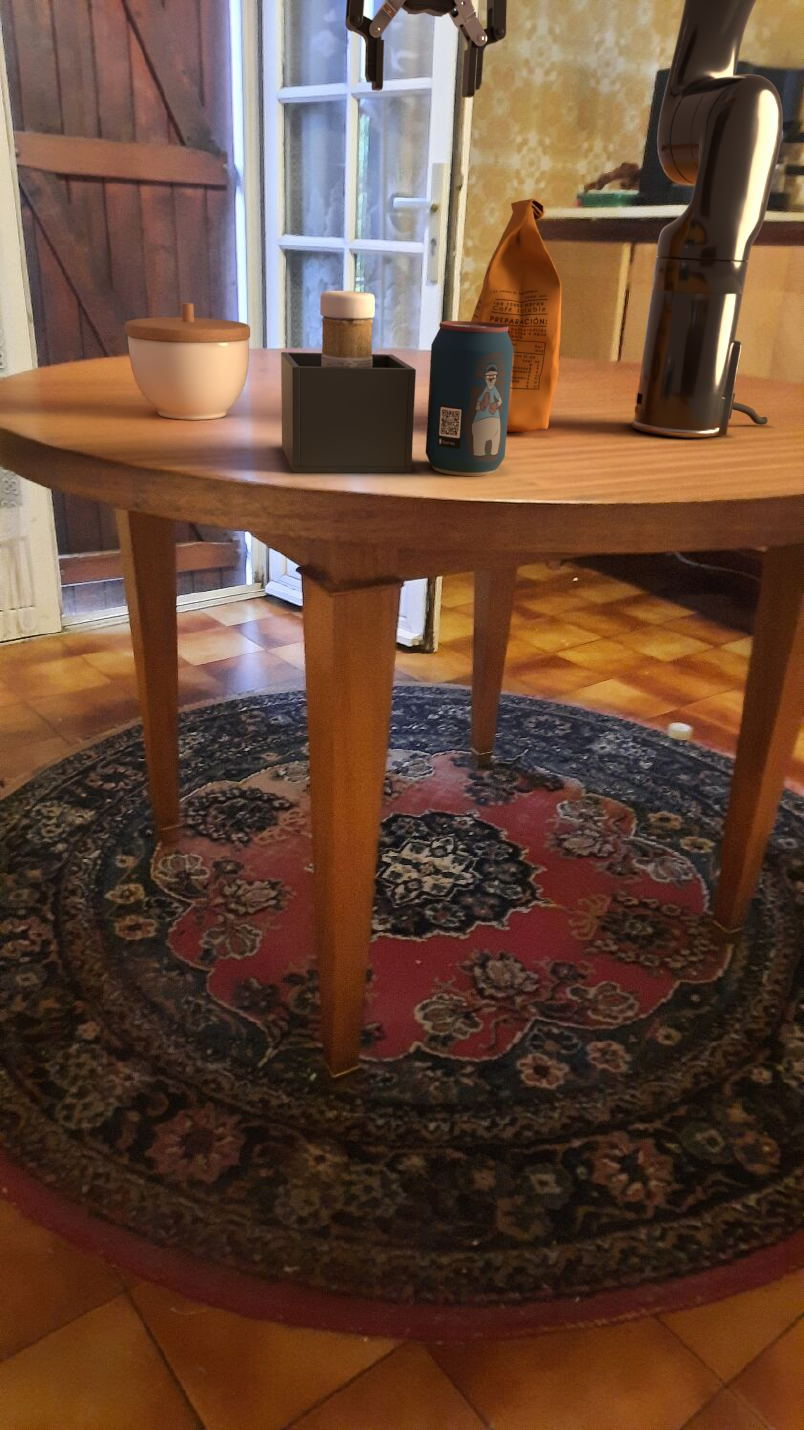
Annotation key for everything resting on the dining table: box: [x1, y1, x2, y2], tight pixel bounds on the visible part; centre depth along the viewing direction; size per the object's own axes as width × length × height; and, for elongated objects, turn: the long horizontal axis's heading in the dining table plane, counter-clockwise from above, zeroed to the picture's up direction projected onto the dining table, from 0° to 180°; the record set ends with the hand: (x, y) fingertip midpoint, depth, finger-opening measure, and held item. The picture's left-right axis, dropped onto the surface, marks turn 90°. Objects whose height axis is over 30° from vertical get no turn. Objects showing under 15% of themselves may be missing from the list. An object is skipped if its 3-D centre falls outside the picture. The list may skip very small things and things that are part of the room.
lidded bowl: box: [124, 302, 251, 421], centre depth 106 cm, size 13×13×11 cm
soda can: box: [425, 320, 514, 477], centre depth 87 cm, size 7×7×12 cm
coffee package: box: [470, 197, 563, 433], centre depth 105 cm, size 10×12×22 cm
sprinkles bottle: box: [319, 290, 376, 368], centre depth 88 cm, size 5×5×14 cm
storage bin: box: [280, 351, 417, 474], centre depth 89 cm, size 10×10×8 cm
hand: (423, 93), depth 93 cm, fingers open, 8 cm apart
